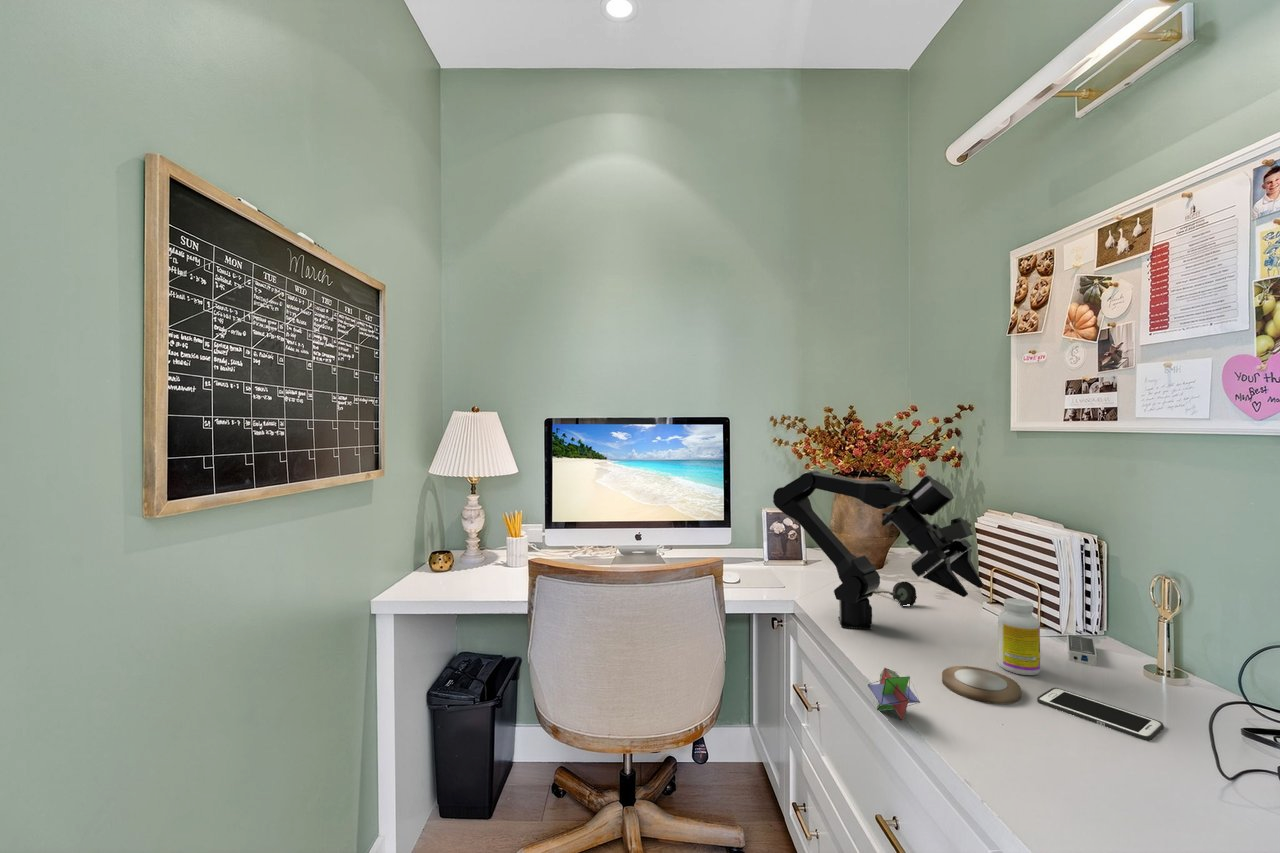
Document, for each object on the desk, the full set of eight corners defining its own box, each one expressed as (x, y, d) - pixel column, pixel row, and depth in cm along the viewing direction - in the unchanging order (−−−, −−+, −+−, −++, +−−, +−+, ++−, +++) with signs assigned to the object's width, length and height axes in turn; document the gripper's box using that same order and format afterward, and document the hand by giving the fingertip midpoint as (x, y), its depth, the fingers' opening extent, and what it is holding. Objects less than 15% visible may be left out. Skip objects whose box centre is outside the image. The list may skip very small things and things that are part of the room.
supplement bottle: (1047, 678, 103) (1047, 608, 103) (1007, 675, 104) (1007, 606, 104) (1029, 663, 109) (1029, 597, 109) (992, 660, 111) (992, 595, 111)
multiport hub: (1093, 649, 117) (1093, 638, 117) (1096, 667, 108) (1096, 655, 108) (1067, 645, 119) (1067, 634, 119) (1068, 662, 111) (1068, 650, 111)
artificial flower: (894, 615, 142) (882, 577, 143) (840, 599, 164) (830, 566, 164) (921, 602, 145) (909, 565, 145) (865, 588, 166) (854, 556, 167)
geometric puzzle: (934, 714, 86) (914, 660, 90) (893, 718, 85) (875, 662, 89) (911, 723, 91) (893, 671, 96) (872, 726, 90) (856, 674, 95)
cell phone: (1054, 691, 98) (1053, 686, 98) (1165, 729, 86) (1165, 722, 86) (1034, 703, 94) (1034, 698, 94) (1149, 744, 82) (1149, 738, 82)
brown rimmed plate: (954, 699, 95) (954, 690, 95) (933, 669, 106) (933, 662, 106) (1034, 707, 92) (1034, 698, 92) (1004, 675, 104) (1004, 667, 104)
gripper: (927, 510, 110) (991, 576, 102) (961, 501, 123) (1020, 560, 114) (887, 543, 116) (945, 609, 108) (923, 532, 129) (977, 590, 120)
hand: (974, 591), depth 112 cm, fingers open, 9 cm apart
